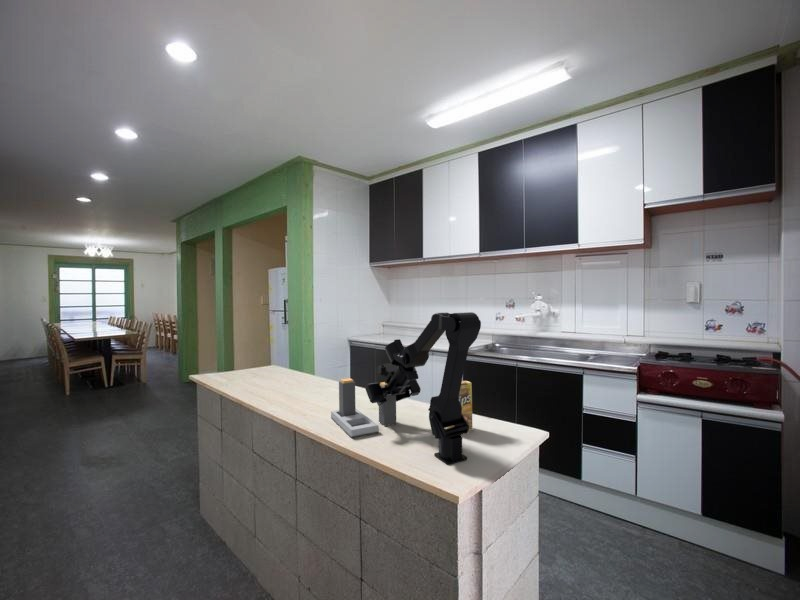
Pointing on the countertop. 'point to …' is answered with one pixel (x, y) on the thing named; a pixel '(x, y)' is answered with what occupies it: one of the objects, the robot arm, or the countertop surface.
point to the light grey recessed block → (355, 424)
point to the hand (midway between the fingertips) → (385, 403)
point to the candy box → (466, 402)
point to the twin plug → (347, 397)
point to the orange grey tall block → (387, 409)
